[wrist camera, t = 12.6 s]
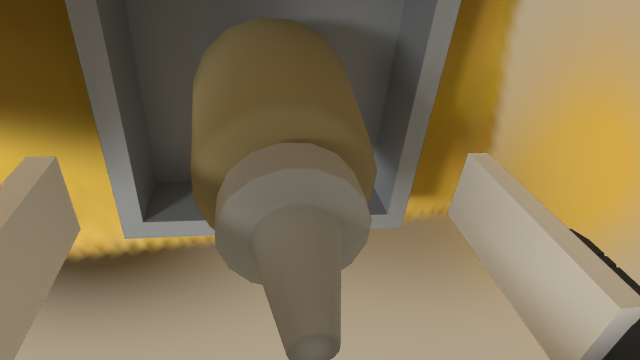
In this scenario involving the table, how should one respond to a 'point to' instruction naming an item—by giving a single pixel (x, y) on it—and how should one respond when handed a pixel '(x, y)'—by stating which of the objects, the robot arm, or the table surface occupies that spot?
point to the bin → (181, 66)
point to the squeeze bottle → (283, 172)
